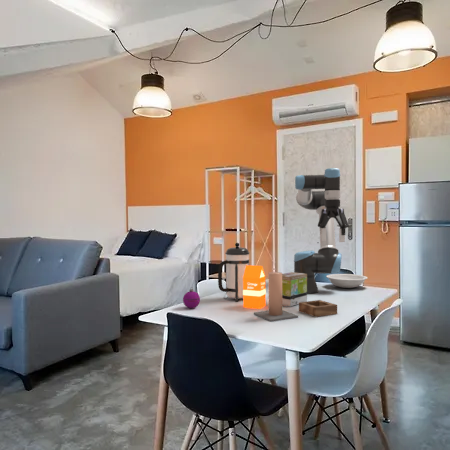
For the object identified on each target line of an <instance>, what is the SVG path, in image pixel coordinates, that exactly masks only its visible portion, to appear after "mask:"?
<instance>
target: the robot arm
mask: <svg viewBox="0 0 450 450" xmlns="http://www.w3.org/2000/svg"><path fill="white" fill-rule="evenodd" d="M294 180H295V182H294V183H295V184H294V186H295V187H294V188H295V190H297V191H298V192H297V194H296V197H295V198H296V203H297V204H298V205H299V206H300V207H301V208H303V209H306V210H310V211H314V210H315V211H316V214H317V215H318V223H317V227H319V241H320V243H319V248H318V251H317V253H316V252H315V250H304V251H298V252H295V253H294V256H293V268H294V269H293V272H294V273H303V274H307V295H308V294H315V293H318V292H319V288H318V283H317V282H316V277H315V276H316V274H326V275H331V274H340V272H341V266H342V256H343V255H342V252H339V249H338V248H337V247H336V238H335V237H336V236H335V235H336V234H335V233H336V232H335V221H336V222H337V224H338V227H339V230H338V231H339V233H338V235H339V240H338V241H339V243H345V242H346V240H345V239H346V237H345V236H346V229H347V228H349V227H350V225H349V223H348V220H347V218H346V215H345V214H346V213H345V209H344V208H341V171H340V168H336V167H330V168H325V169H324V174H301V175H296V176H295V178H294ZM313 190H314V191H313ZM334 219H335V220H334Z"/></svg>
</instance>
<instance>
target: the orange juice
mask: <svg viewBox="0 0 450 450" xmlns="http://www.w3.org/2000/svg"><path fill="white" fill-rule="evenodd" d="M266 295H267V291H266V274H265V271H264V267H263V265H252V264H249V265H246V268H245V272H244V276H243V298H242V299H243V300H242V301H243V302H242V304H243V306H242V307H243V309H244V308H247V309H253V310H254V309H255V310H256V309H257V310H261V309H263V308H265V307H266V306H267V302H266V299H267V297H266Z"/></svg>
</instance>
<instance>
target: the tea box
mask: <svg viewBox="0 0 450 450" xmlns="http://www.w3.org/2000/svg"><path fill="white" fill-rule="evenodd" d="M300 302H308V294H307V274H303V273H294V271H293V272H292V271H290V272H285V273H282V307H283V306H284V307H293V306H296V305H299V303H300Z"/></svg>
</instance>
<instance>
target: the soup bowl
mask: <svg viewBox="0 0 450 450" xmlns="http://www.w3.org/2000/svg"><path fill="white" fill-rule="evenodd" d="M326 278H327V279H328V280H329V282H330V283H331V284H333V286H335V287H337V288H344V289H352V288H353V289H354V288H357V287H360V286H361V285H362V284H363V283H364V282H365V281H366V280H367V279H368V276H365V275H362V274H355V273H354V274H353V273H352V274H351V273H334V274H326Z"/></svg>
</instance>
